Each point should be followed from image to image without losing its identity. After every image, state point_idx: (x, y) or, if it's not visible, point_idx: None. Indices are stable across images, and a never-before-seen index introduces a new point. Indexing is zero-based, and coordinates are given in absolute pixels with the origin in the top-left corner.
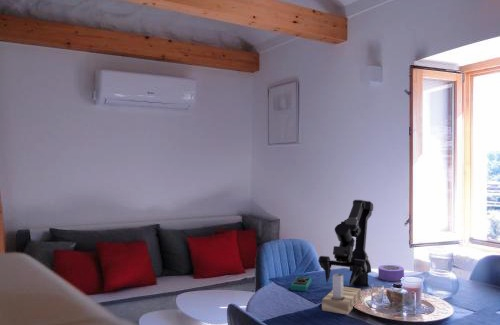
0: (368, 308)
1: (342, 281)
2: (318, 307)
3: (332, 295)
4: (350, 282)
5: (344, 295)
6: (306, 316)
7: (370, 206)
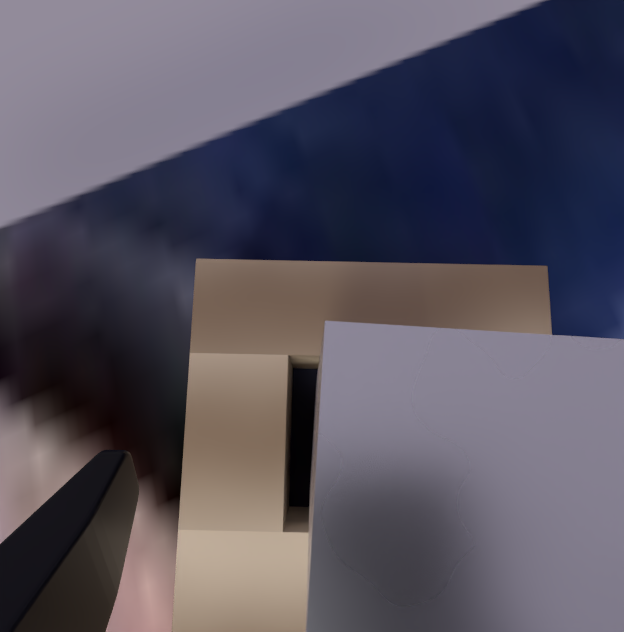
0: None
1: (311, 498)
2: None
3: None
4: (88, 473)
5: None
6: (566, 89)
7: None
